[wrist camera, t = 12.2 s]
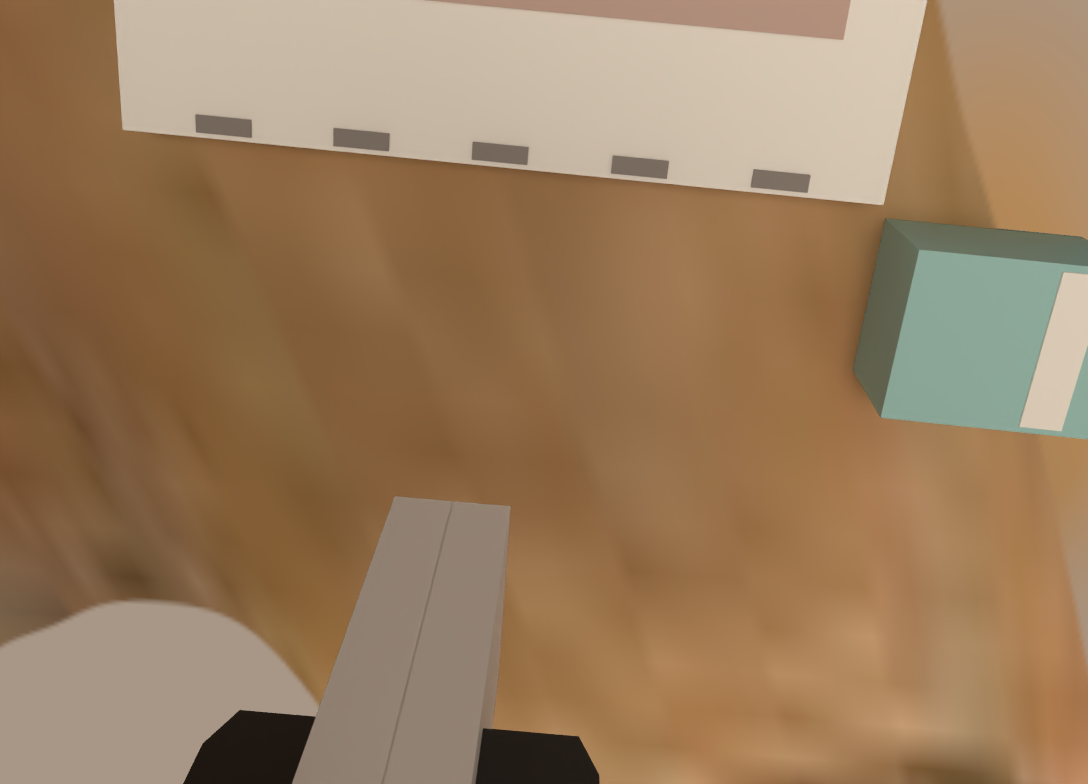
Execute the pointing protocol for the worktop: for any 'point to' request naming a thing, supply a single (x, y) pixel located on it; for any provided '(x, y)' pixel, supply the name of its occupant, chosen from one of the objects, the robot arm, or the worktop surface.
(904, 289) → the stub
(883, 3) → the slab
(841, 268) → the worktop surface
